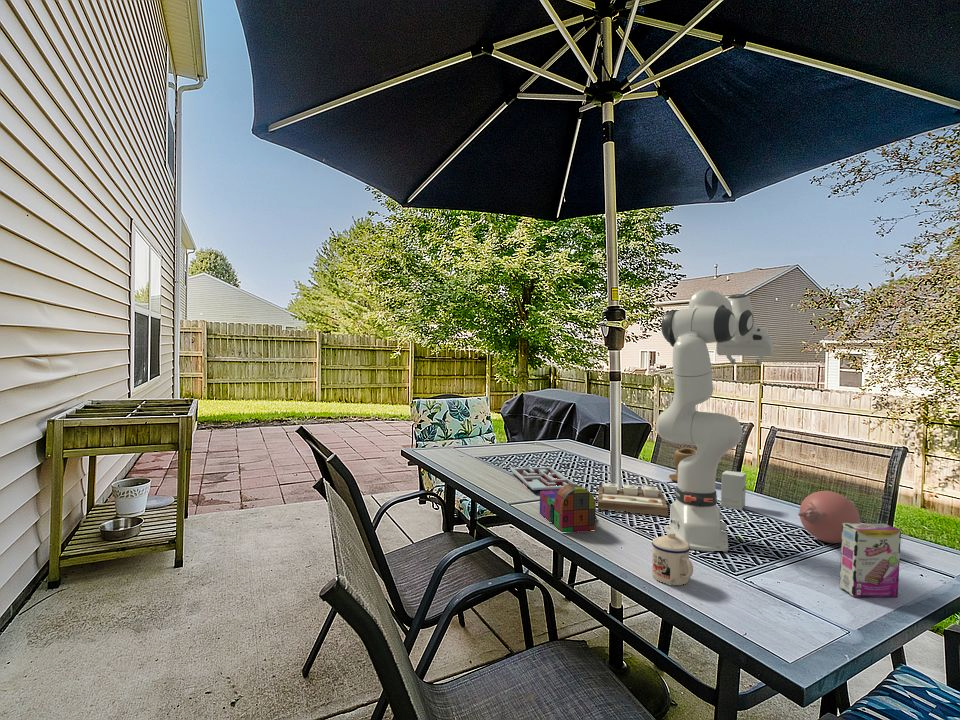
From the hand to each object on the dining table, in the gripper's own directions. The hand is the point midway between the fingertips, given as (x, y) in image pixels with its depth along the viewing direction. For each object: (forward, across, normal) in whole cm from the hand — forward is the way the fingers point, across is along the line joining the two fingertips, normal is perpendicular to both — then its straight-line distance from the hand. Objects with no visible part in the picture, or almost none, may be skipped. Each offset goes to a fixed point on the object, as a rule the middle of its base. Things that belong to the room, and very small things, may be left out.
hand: (746, 364), depth 201 cm
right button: (+29, -25, -53) cm, 66 cm away
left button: (+26, -38, -59) cm, 75 cm away
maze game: (+30, -72, -59) cm, 97 cm away
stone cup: (+52, -25, -17) cm, 60 cm away
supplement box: (+40, 0, -40) cm, 56 cm away
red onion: (+31, +30, -58) cm, 72 cm away
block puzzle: (+14, -38, -88) cm, 97 cm away
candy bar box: (+15, +44, -86) cm, 98 cm away
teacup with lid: (+3, +6, -109) cm, 109 cm away
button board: (+28, -30, -61) cm, 74 cm away
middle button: (+28, -32, -56) cm, 70 cm away
